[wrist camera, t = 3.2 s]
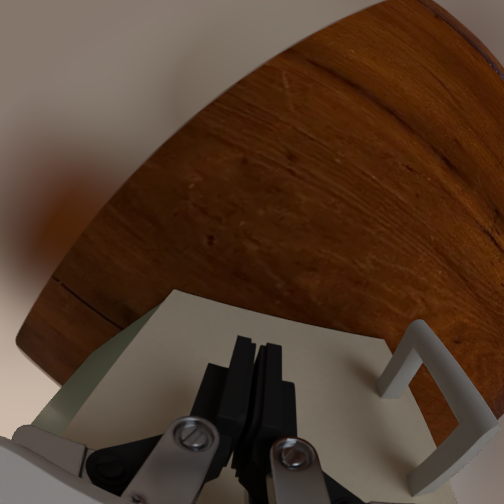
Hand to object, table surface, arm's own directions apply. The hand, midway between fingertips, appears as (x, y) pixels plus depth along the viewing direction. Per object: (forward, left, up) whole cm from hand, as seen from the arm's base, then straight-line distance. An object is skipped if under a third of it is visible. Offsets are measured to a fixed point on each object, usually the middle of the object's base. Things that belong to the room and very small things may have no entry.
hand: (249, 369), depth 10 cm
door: (+4, 0, -13) cm, 14 cm away
